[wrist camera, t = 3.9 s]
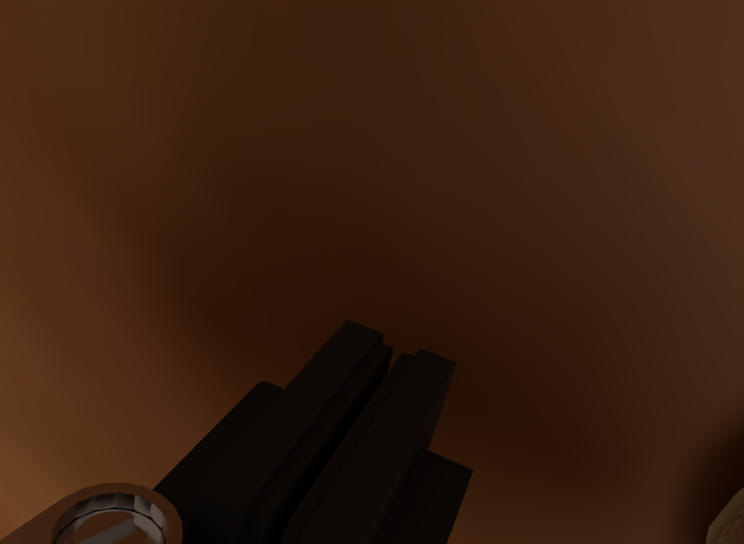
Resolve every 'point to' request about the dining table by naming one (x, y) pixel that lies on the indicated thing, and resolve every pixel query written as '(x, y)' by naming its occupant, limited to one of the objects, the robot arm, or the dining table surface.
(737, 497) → the bread roll
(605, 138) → the dining table surface
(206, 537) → the robot arm
